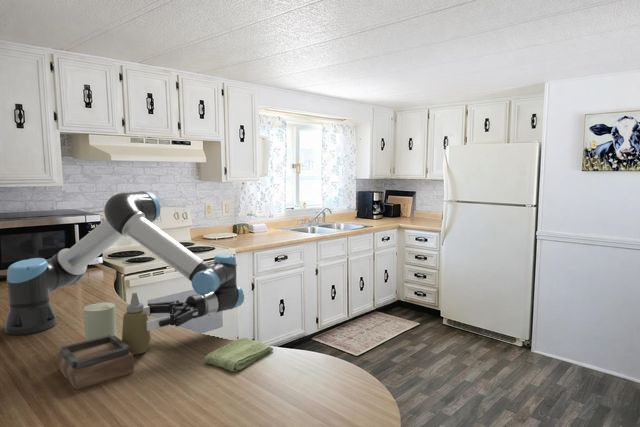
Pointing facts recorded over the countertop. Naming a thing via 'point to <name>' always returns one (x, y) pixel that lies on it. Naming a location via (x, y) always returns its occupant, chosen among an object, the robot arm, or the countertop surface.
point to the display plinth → (95, 361)
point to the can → (99, 320)
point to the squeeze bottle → (135, 327)
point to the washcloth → (238, 354)
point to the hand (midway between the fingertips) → (137, 320)
